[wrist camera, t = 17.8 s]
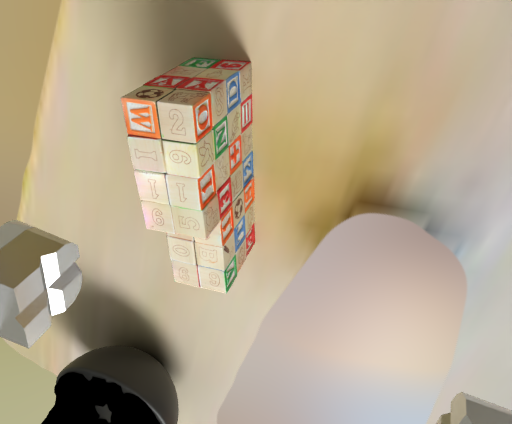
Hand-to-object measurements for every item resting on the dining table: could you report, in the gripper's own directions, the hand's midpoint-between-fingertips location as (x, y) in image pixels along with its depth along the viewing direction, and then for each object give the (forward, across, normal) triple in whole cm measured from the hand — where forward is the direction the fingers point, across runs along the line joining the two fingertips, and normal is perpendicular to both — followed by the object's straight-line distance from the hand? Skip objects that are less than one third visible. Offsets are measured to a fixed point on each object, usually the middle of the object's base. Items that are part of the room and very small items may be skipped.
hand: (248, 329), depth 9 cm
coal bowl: (+34, +23, +61) cm, 74 cm away
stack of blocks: (+34, +13, +18) cm, 41 cm away
